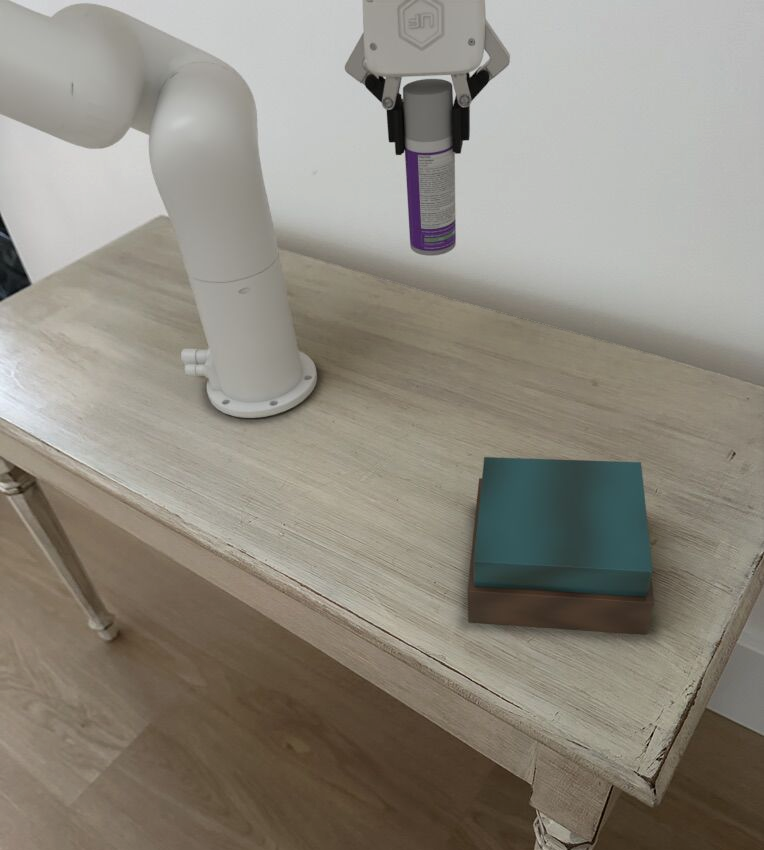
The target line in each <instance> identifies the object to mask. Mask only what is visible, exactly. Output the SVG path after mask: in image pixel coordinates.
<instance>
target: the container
mask: <svg viewBox="0 0 764 850" xmlns="http://www.w3.org/2000/svg"><path fill="white" fill-rule="evenodd" d="M453 90H454V89H453V83H452V82H450V81H449V80H446V79H443V78H442V79H441V78H423V79H418V80H414V81H410V82H408V83H406V84H405V85H403V88H402V99H403V109H404V143H405V150H404V160H405V161H404V162H405V177H406V179H405V180H406V193H407V195H406V196H407V197H406V198H407V214H408V231H409V245H410V249H411V250H412V251H413V252H414V253H415V254H418V255H421V256H431V257H432V256H433V257H434V256H440V255H444V254H448V253H449V252H451V251H452V250H453V249H454V248H455V247H456V245H457V236H456V235H457V234H456V233H457V230H456V229H457V228H456V227H457V226H456V224H457V223H456V164H455V163H456V154H455V152H453V132H452V109H453V104H454V93H453Z"/></svg>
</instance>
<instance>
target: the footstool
mask: <svg viewBox="0 0 764 850" xmlns="http://www.w3.org/2000/svg"><path fill="white" fill-rule="evenodd" d="M645 496H646V495H645V487H644V477H643V468H642V462H640V461H615V460H589V459H588V460H585V459H583V460H582V459H554V458H527V457H526V458H525V457H495V456H493V457H491V456H484V458H483V466H482V475H481V478H480V477H479V478H478V484H477V495H476V503H475V514H474V522H473V532H472V542H471V551H470V561H469V569H468V570H469V571H468V578H467V579H468V581H467V588H466V589H467V590H466V594H467V595H466V597H467V600H466V601H467V622H468V623H477V624H490V625H491V624H492V625H507V626H517V627H518V626H520V627H521V626H522V627H534V628H535V627H536V628H547V629H560V630H561V629H564V630H575V631H577V630H578V631H590V632H591V631H592V632H593V631H594V632H604V633H605V632H607V633H621V634H622V633H623V634H633V635H648V630H649V627H650V622H651V618H652V614H653V610H654V605H655V597H654V587H653V578H652V577H653V561H652V551H651V543H650V534H649V525H648V514H647V506H646V505H647V503H646V497H645Z"/></svg>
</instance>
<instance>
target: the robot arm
mask: <svg viewBox="0 0 764 850" xmlns="http://www.w3.org/2000/svg"><path fill="white" fill-rule="evenodd" d="M362 26H363V27H362V28H363V29H362V30H363V32H362V33H361V36H360V38H359V39H358V41H357V43H356V45H355V47H354V48H353V50H352V52H351V54H350V55H349V57H348V59H347V61H346V62H345V64H344V70H345V72H346V73H347V74H348V75H349V76H350V77H352V78H353V79H354V80H356V81H357V82H358V83H360V84H362V85H363V86H365V88H366V89H367V90H368V92H369V93H371V94H372V95H373V96H374V97H375V98H376V99H377V100H378V101H379V102H380V103H381V105H382V108H383V109H384V110H386V122H387V123H386V124H387V137H388V143H394V151H395V156H402V154H405V143H404V109H403V97H402V94H401V93H400V92H401V91H400V90H401V84H402V79H403V78H406V77H407V78H408V77H409V78H410V77H433V76H434V77H435V76H450V77H451V81H452V86H453V88H454V89H453V90H454V92H455V97H454V99H453V109H452V132H453V152H455V155H457V154H459V155H460V154H462V150H463V149H462V148H463V145H464V144H463V143H464V141H470V135H471V104H472V102H473V100H475V98H476V97H477V96H478V95H479V94H480V93H481V91H483V90H484V89H485V87H486V86H487V85H488V84H489V82H490V81H491V80H493V79H495V78H496V77H497V76H498V75H500V73H502V72H503V71H504V70H505V69H507V67H508V66H509V65H510V62H511V54H510V52H509V51H508V49H507V48H506V47H505V45H504V43H503V42H502V40H501V39H500V37H499V36H498V35H497V33H496V32H495V30H494V29H493V27H492V26H491V25H490V23H489V21H487V19H486V0H362ZM485 52H486V54H487V55H488V57H489V59H488V60H487V61H485V63H484V64H483V65H481V63H482V62H483V59H484V53H485ZM473 71H474V73H473V74H472V75H471V72H473ZM0 115H1V116H4V117H7V118H9V119H11V120H13V121H16V122H17V123H18V122H19V123H21V124H24V125H26V126H28V127H31V128H33V129H36V130H38V131H40V132H42V133H44V134H45V133H46V134H48V135H50V136H51V137H54V138H57V139H59V140H62V141H64V142H66V143H68V144H71V145H75V146H77V147H82V148H84V149H89V150H94V149H95V150H96V149H97V150H98V149H100V150H102V149H106V148H109V147H112V146H114V145H115V144H117V143H118V142H120V141H121V140H122V139H123V138H124V137H125V135H126V134H127V133H128V131H129V130H130V129H133V130H135V131H138V132H141V133H142V134H145V135H148V156H149V163H150V168H151V172H152V177H153V180H154V183H155V185H156V189H157V191H158V194H159V196H160V199H161V201H162V203H163V206H164V208H165V211H166V213H167V216H168V218H169V220H170V224H171V228H172V230H173V233H174V236H175V239H176V242H177V245H178V249H179V252H180V256H181V259H182V261H183V266H184V269H185V272H186V275H187V278H188V282H189V285H190V288H191V293H192V296H193V299H194V302H195V306H196V309H197V312H198V316H199V319H200V324H201V326H202V329H203V333H204V336H205V340H206V343H207V349H200V348H182V350H181V352H180V360H181V363H182V365H183V366H184V375H185V376H186V377H200V376H201V377H205V379H207V380H206V381H207V382H206V393H207V396H208V400H209V401H210V403H211V404H212V406H213V407H214V408H216V410H218V411H220V412H221V413H223V414H225V415H229V416H232V417H236V418H242V419H257V418H266V417H271V416H275V415H278V414H281V413H285V412H286V411H288V410H290V409H292V408H295V407H296V406H298V405H299V404H301V403H302V402H303V401H304V400H306V399H307V398H308V397H309V396H310V395H311V394H312V392H313V391H314V389H315V387H316V386H317V382H318V374H317V373H318V372H317V367H316V365H315V362H314V360H312V358H311V357H310V356H309V355H307V354H306V353H304V352H303V351H301V350H299V347H298V341H297V337H296V331H295V327H294V321H293V317H292V311H291V307H290V301H289V297H288V292H287V286H286V282H285V281H286V280H285V276H284V272H283V271H284V270H283V267H282V262H281V255H280V251H279V247H278V242H277V237H276V231H275V226H274V221H273V216H272V213H271V207H270V202H269V199H268V198H269V197H268V194H267V190H266V185H265V181H264V173H263V169H262V163H261V157H260V149H259V129H258V109H257V103H256V101H255V97H254V94H253V92H252V90H251V88H250V86H249V84H248V83H247V81H246V80H245V78H244V77H243V76H242V74H240V73H239V72H238V71H237V70H236V69H235V68H234V67H232V66H231V65H230V64H228V63H227V62H225V61H224V60H222V59H221V58H219V57H217V56H216V55H213V54H211V53H209V52H207V51H205V50H203V49H201V48H199V47H196V46H195V45H193V44H190V43H188V42H186V41H184V40H182V39H181V38H178V37H175V36H173V35H171V34H170V33H167V32H166V31H163V30H161V29H159V28H157V27H154V26H153V25H150V24H148V23H146V22H145V21H142V20H140V19H138V18H136V17H134V16H131V15H130V14H127V13H125V12H124V11H123V12H122V11H120V10H118V9H116V8H112V7H109V6H105V5H102V4H98V3H91V2H90V3H89V2H84V3H83V2H80V3H75V4H70V5H68V6H65V7H63V8H61V9H60V10H58V11H56V12H55V13H54V14H52V16H48V15H46V14H42V13H40V12H39V11H35V10H33V9H30V8H28V7H26V6H23V5H21V4H18V3H16V2H14V1H11V0H0Z"/></svg>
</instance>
